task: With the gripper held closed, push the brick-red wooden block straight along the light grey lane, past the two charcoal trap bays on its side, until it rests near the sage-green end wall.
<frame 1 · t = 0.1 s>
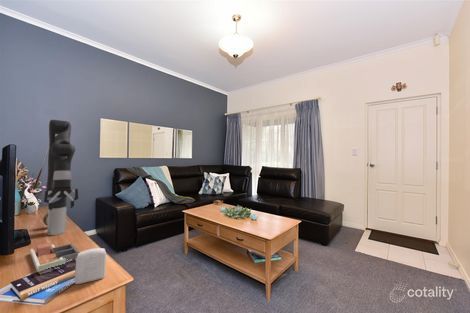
hand: (61, 209, 112), 22 cm above the tv stand, tool pointing down, fingers open, 8 cm apart
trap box: (46, 259, 101), on the tv stand
alarm clock: (53, 227, 149), on the tv stand
red block: (43, 253, 108), on the tv stand
photo printer: (90, 280, 85), on the tv stand
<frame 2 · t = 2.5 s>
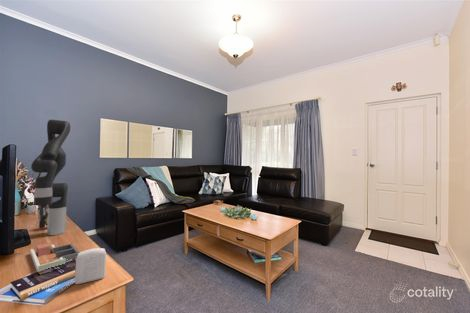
hand: (41, 227, 114), 12 cm above the tv stand, tool pointing down, fingers closed
nothing on the tv stand moved.
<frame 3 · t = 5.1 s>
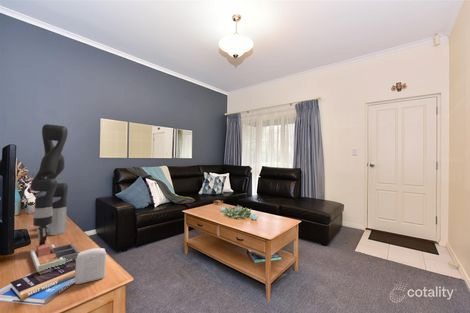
hand: (41, 247, 111), 2 cm above the tv stand, tool pointing down, fingers closed
red block: (43, 254, 108), on the tv stand, touching gripper
everything else where it was.
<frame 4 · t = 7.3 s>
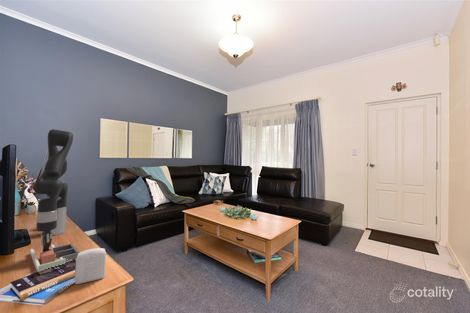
hand: (45, 254, 103), 2 cm above the tv stand, tool pointing down, fingers closed
red block: (47, 261, 99), on the tv stand, touching gripper
everything else where it was.
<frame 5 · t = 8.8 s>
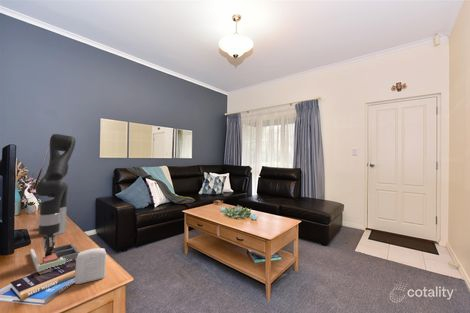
hand: (48, 259, 98), 2 cm above the tv stand, tool pointing down, fingers closed
red block: (49, 266, 95), on the tv stand, touching gripper
everything else where it was.
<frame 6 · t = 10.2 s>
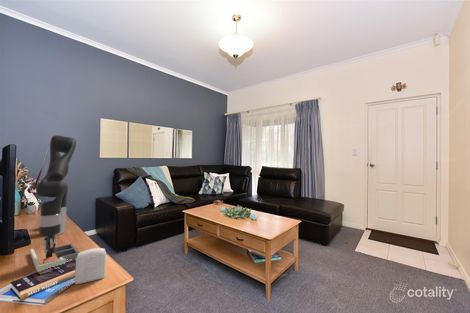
hand: (48, 260, 97), 2 cm above the tv stand, tool pointing down, fingers closed
red block: (50, 268, 94), on the tv stand, touching gripper
everything else where it was.
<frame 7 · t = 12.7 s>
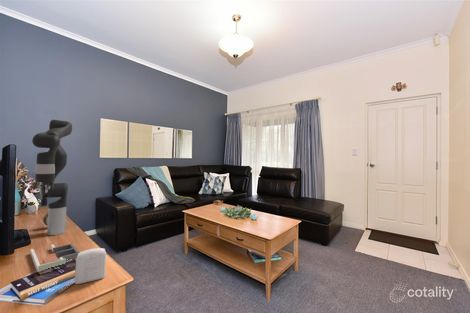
hand: (43, 205, 108), 25 cm above the tv stand, tool pointing down, fingers closed
red block: (50, 268, 94), on the tv stand
everything else where it was.
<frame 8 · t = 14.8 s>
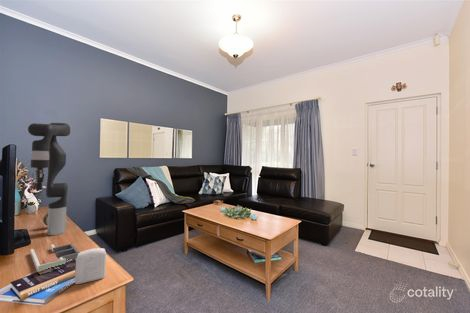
hand: (38, 190, 115), 32 cm above the tv stand, tool pointing down, fingers closed
nothing on the tv stand moved.
at the end: red block inside the target area (1.1 cm from its centre), on the tv stand; red block tilted 0°; red block moved 22.1 cm from its start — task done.
